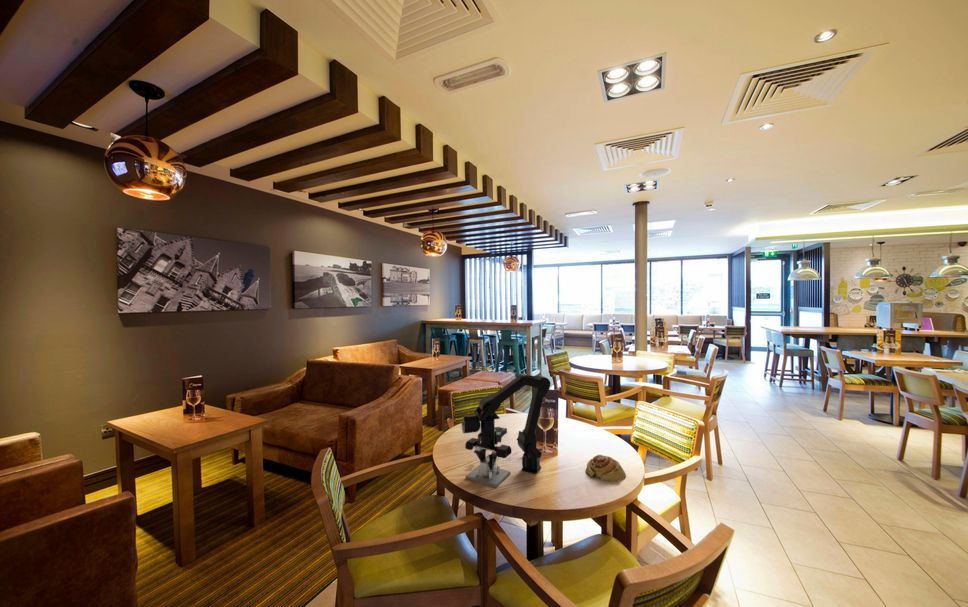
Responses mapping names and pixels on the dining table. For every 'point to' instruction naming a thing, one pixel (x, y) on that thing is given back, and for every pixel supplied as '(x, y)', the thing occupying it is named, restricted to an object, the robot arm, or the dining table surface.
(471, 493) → the dining table surface
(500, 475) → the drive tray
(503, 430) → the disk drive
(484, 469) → the block
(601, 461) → the pastry
